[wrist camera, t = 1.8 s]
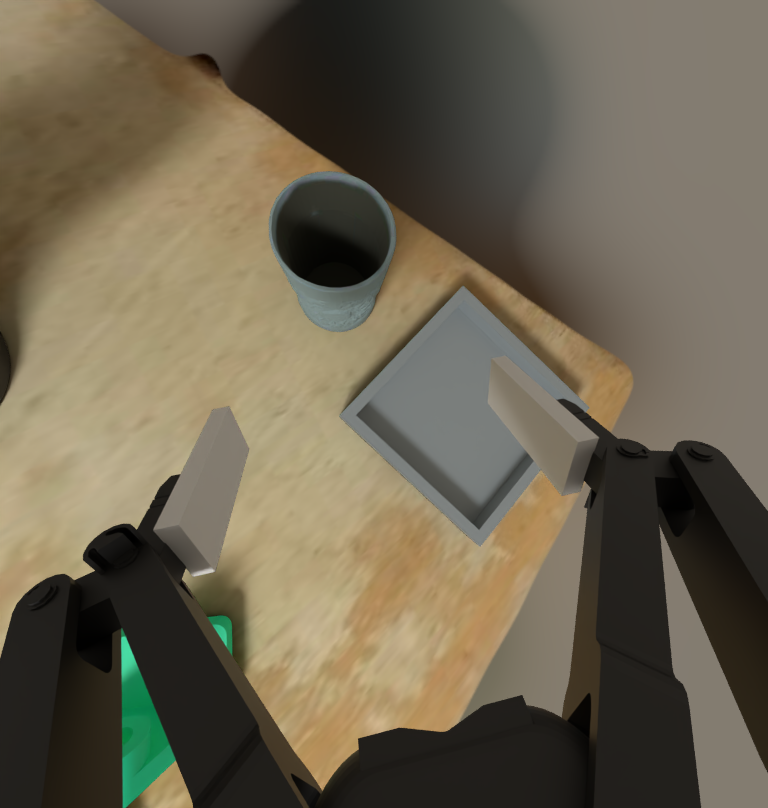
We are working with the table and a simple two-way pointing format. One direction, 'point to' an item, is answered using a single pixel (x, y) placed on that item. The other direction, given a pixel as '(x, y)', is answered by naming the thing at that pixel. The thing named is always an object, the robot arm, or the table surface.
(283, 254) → the grey green cup
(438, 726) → the table surface
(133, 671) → the camera mount
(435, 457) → the tray
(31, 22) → the table surface
